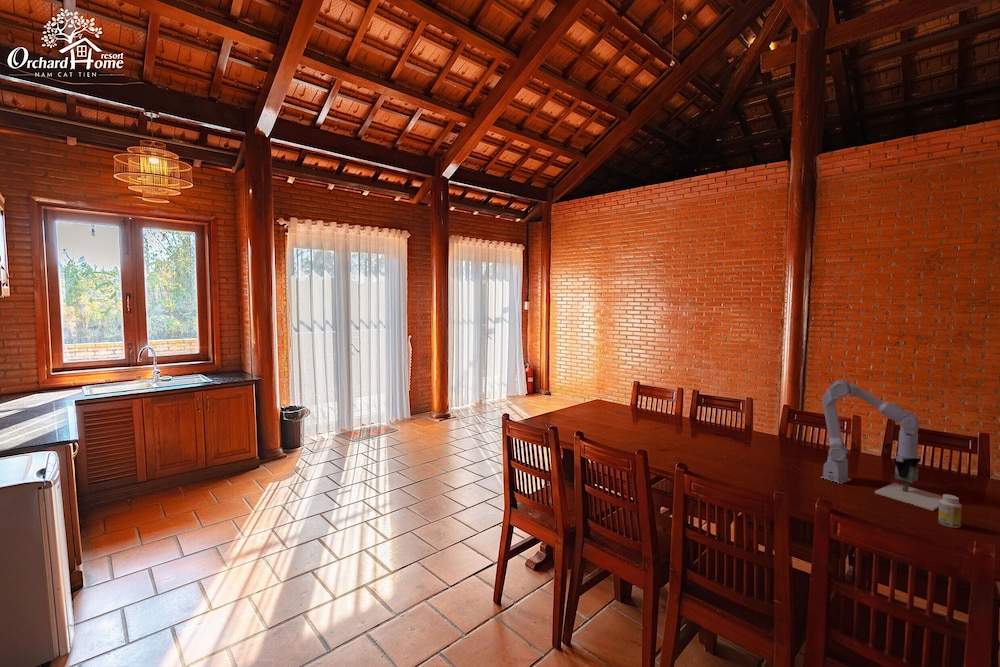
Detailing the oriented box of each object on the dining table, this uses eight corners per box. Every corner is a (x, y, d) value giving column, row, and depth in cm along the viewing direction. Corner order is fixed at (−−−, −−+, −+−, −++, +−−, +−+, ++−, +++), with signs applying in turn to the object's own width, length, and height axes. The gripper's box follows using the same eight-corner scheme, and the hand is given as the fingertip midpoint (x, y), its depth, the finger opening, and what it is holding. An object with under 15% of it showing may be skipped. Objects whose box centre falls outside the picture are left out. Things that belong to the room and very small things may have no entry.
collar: (911, 482, 178) (912, 470, 177) (894, 478, 182) (895, 466, 182) (917, 480, 180) (918, 468, 180) (900, 475, 185) (901, 464, 185)
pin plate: (933, 510, 166) (933, 498, 166) (874, 492, 182) (875, 481, 182) (951, 500, 175) (952, 488, 174) (894, 484, 190) (895, 473, 190)
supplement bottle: (959, 524, 156) (961, 496, 155) (961, 530, 152) (963, 501, 151) (937, 519, 160) (939, 491, 159) (938, 524, 156) (940, 496, 155)
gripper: (913, 449, 174) (911, 482, 174) (928, 443, 180) (926, 475, 181) (890, 444, 180) (888, 476, 181) (906, 438, 187) (904, 470, 187)
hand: (906, 475), depth 181 cm, fingers closed on collar, 5 cm apart
